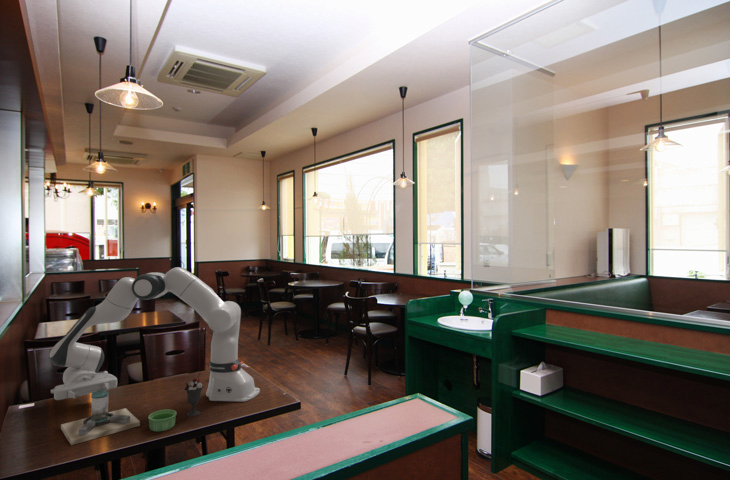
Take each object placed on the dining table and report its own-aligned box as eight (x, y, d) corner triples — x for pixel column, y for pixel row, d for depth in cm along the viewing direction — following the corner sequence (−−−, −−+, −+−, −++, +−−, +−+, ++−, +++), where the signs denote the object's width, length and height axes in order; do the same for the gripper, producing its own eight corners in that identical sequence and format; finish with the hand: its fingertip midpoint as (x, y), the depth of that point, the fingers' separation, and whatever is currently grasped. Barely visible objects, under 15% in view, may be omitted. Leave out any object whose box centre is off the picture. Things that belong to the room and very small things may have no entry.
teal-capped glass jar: (111, 418, 145) (112, 390, 145) (99, 425, 140) (100, 396, 140) (99, 417, 146) (100, 389, 146) (86, 423, 141) (87, 394, 141)
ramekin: (156, 420, 148) (157, 408, 148) (181, 421, 148) (181, 409, 148) (142, 432, 139) (142, 419, 139) (168, 433, 139) (168, 420, 139)
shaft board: (125, 412, 154) (125, 402, 154) (139, 425, 143) (140, 415, 143) (60, 428, 140) (61, 418, 140) (71, 445, 129) (71, 434, 129)
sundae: (206, 411, 156) (207, 372, 156) (194, 418, 150) (195, 378, 150) (193, 409, 158) (194, 370, 158) (180, 415, 152) (181, 376, 152)
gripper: (49, 381, 153) (57, 391, 144) (111, 370, 168) (121, 378, 159) (49, 398, 153) (56, 409, 144) (111, 385, 168) (121, 394, 159)
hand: (91, 392), depth 151 cm, fingers open, 8 cm apart
